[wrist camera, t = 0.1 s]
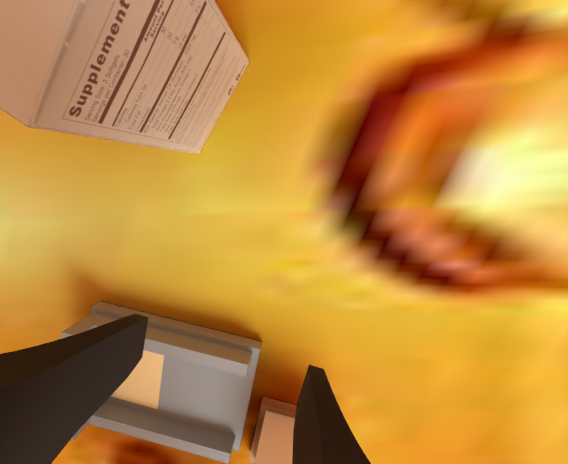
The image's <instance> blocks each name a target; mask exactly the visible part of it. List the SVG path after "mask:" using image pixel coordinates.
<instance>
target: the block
mask: <svg viewBox="0 0 568 464" xmlns="http://www.w3.org/2000/svg"><path fill="white" fill-rule="evenodd" d="M294 421H295V418H292V417H288V416H284V415H281V414H277V413H273V412H269V411H266V413H265V417H264V421H263V426H262V430H261V435H260V439H259V444H258V448H257V453H256V457H255V462H254V464H292V456H293V429H294Z"/></svg>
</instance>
